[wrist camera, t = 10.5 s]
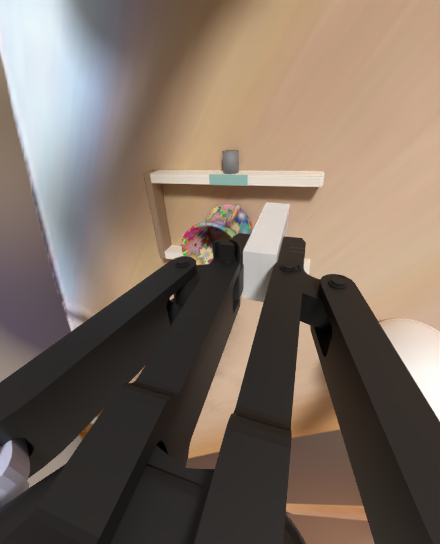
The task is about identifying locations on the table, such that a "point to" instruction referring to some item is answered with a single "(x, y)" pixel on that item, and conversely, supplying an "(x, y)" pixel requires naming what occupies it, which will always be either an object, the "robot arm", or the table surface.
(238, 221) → the mug
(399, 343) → the vase
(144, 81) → the table surface
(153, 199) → the teal-striped rail frame
